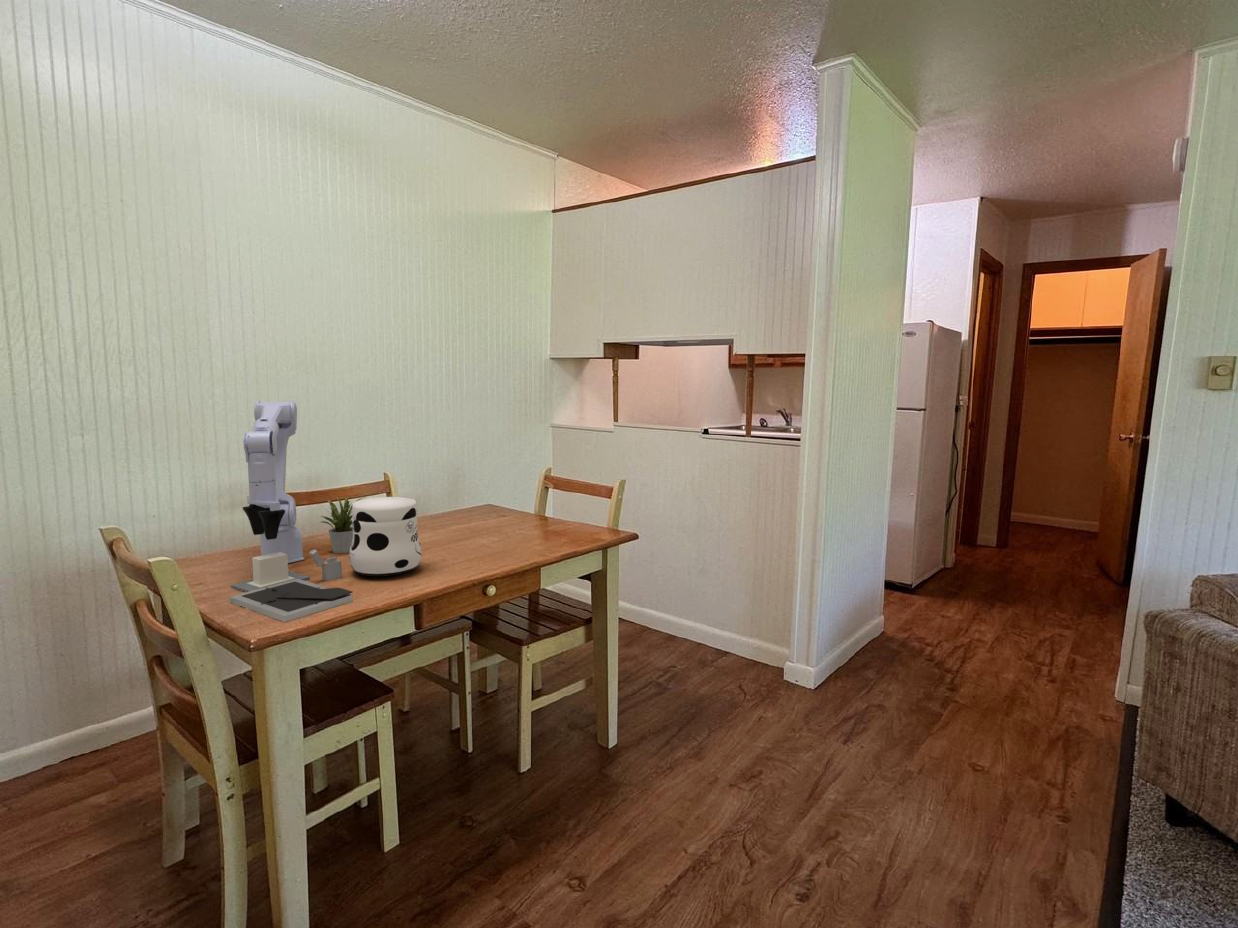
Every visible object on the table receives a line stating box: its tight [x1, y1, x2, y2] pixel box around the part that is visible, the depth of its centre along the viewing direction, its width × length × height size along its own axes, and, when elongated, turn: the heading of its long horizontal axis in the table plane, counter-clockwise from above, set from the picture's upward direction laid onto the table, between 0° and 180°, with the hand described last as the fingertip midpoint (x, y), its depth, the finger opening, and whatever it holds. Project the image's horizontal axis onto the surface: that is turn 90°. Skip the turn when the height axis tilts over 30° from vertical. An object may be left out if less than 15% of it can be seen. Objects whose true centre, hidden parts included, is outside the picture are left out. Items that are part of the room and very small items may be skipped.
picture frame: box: [228, 579, 354, 623], centre depth 144 cm, size 16×3×21 cm
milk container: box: [348, 496, 422, 578], centre depth 166 cm, size 17×17×18 cm
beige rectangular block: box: [251, 552, 289, 585], centre depth 156 cm, size 4×6×6 cm, turn 144°
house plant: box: [317, 495, 367, 554], centre depth 185 cm, size 14×14×16 cm
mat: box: [230, 570, 311, 592], centre depth 156 cm, size 14×9×1 cm, turn 148°
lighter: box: [308, 548, 343, 582], centre depth 159 cm, size 7×2×8 cm, turn 138°
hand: (265, 536), depth 159 cm, fingers open, 7 cm apart
